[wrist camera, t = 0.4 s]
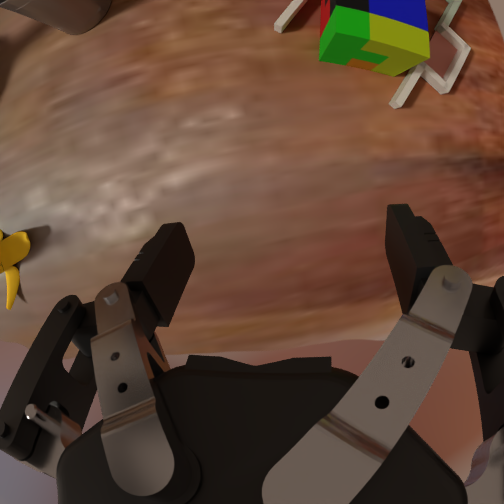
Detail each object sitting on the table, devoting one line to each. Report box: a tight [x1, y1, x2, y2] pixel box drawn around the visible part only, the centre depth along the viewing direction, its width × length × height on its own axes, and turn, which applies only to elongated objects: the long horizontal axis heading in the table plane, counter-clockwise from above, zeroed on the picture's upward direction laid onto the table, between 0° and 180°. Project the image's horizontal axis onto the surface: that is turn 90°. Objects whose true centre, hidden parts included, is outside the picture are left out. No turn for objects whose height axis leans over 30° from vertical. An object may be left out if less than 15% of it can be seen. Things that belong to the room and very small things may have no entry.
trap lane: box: [274, 0, 471, 109], centre depth 25 cm, size 25×27×2 cm
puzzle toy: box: [319, 0, 430, 77], centre depth 24 cm, size 10×10×10 cm
